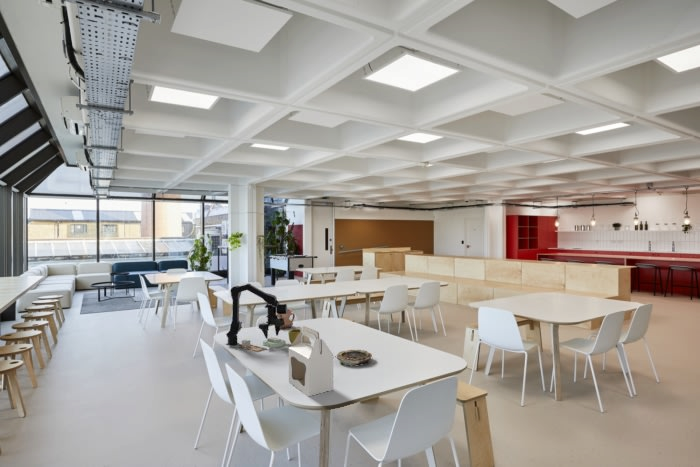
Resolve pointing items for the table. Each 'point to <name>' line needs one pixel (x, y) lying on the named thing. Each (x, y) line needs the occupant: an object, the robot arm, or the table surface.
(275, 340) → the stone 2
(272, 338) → the white small cube
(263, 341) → the green bin
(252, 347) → the walnut tray
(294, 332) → the flower pot
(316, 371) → the gable box
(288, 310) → the ceramic jug
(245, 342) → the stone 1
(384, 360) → the table surface
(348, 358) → the pie
